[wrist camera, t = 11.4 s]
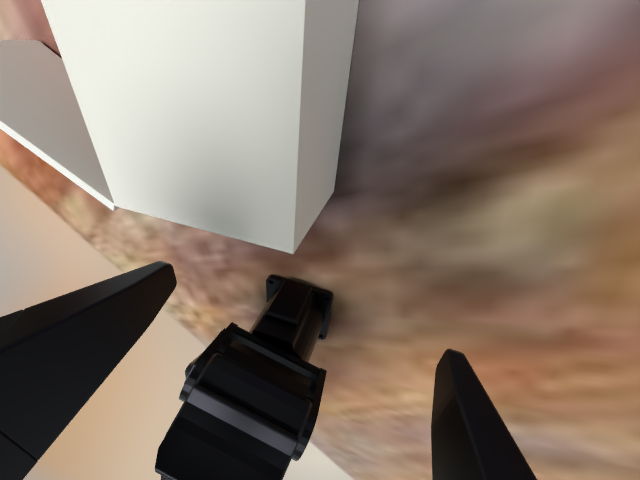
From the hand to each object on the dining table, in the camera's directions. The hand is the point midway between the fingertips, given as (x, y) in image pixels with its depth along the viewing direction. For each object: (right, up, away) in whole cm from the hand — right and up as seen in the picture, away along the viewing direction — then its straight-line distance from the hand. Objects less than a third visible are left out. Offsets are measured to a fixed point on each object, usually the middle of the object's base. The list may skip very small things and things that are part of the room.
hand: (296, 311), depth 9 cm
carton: (-3, +13, +9) cm, 16 cm away
